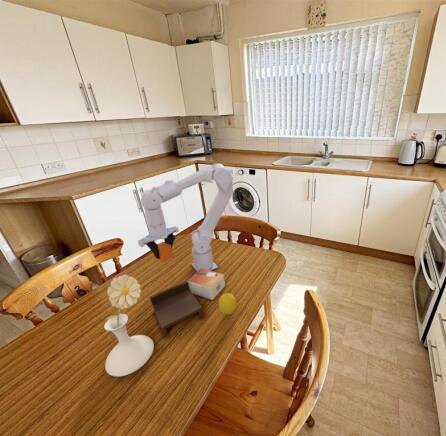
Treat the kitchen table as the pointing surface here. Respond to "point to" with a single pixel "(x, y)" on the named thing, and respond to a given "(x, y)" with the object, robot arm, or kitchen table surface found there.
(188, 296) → the toy bench
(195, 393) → the kitchen table surface
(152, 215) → the robot arm
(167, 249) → the package
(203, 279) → the small box
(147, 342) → the flower in vase
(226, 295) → the lemon
